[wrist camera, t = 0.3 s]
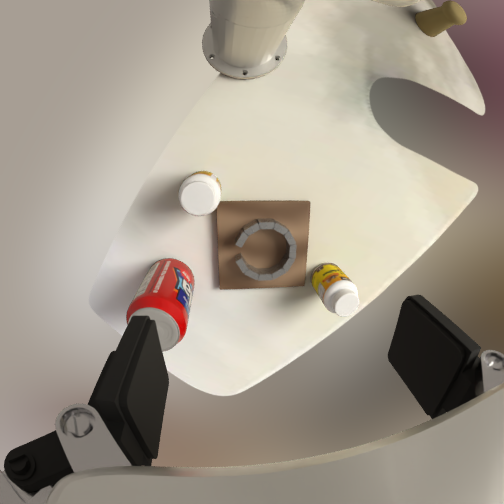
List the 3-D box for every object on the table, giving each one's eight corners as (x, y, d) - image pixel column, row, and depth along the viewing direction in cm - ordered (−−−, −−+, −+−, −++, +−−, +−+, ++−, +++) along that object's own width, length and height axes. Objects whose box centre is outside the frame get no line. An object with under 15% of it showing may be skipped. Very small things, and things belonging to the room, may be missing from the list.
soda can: (152, 251, 43) (123, 296, 29) (199, 261, 44) (189, 312, 30) (146, 293, 45) (122, 348, 31) (190, 303, 47) (181, 361, 33)
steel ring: (234, 219, 41) (235, 223, 39) (293, 218, 42) (297, 222, 40) (235, 274, 44) (236, 281, 42) (290, 272, 45) (294, 279, 43)
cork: (426, 11, 31) (458, -4, 20) (441, 35, 33) (475, 23, 22) (410, 13, 31) (442, -4, 21) (426, 38, 33) (461, 25, 23)
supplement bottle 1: (178, 191, 40) (165, 202, 31) (201, 163, 39) (194, 166, 30) (205, 213, 42) (200, 230, 33) (228, 186, 41) (230, 196, 32)
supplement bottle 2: (341, 261, 47) (368, 287, 37) (336, 289, 49) (360, 320, 39) (311, 261, 46) (333, 289, 37) (307, 290, 48) (326, 323, 39)
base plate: (216, 201, 41) (216, 202, 40) (308, 200, 43) (310, 202, 42) (219, 286, 46) (219, 289, 45) (302, 282, 48) (304, 285, 46)
